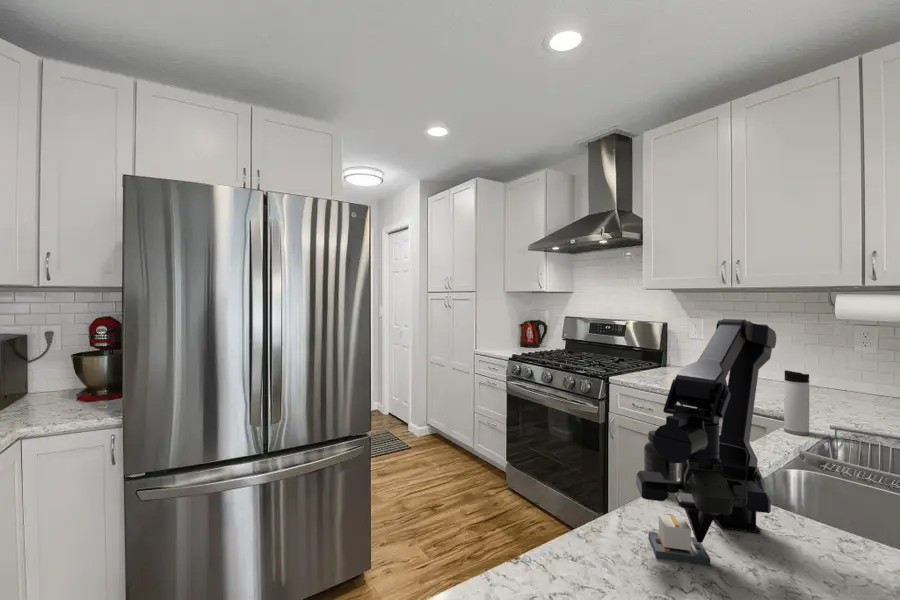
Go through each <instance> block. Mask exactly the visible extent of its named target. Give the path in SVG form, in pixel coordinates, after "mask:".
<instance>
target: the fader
mask: <svg viewBox="0 0 900 600" xmlns="http://www.w3.org/2000/svg"><path fill="white" fill-rule="evenodd" d="M658 533H659V536H660V538H661V541H662V543H663V545H664V547H668V548H675V549H682V550H689V551H691V537H692V528H691V526H689V523H688V521H687V520H686V518H685V517H684V516H676V515H674V514H668V515H667V514H661V513H659V514H658Z"/></svg>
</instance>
